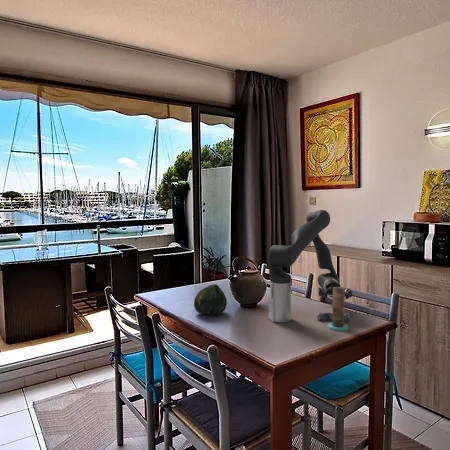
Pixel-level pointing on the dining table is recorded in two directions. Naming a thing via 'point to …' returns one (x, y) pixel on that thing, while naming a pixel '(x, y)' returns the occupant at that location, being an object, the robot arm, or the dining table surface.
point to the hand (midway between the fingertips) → (336, 296)
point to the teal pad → (338, 327)
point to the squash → (210, 301)
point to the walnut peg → (338, 307)
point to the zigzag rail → (330, 316)
